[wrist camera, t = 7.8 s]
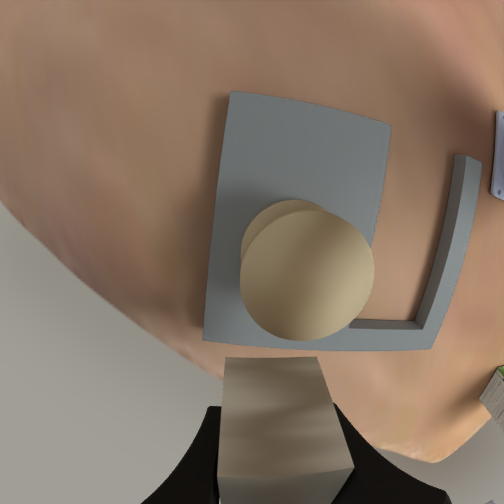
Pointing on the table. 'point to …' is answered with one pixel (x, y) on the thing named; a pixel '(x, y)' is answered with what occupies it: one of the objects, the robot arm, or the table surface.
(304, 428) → the block
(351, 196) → the notched board
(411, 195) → the table surface
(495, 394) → the syrup box
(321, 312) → the spool
